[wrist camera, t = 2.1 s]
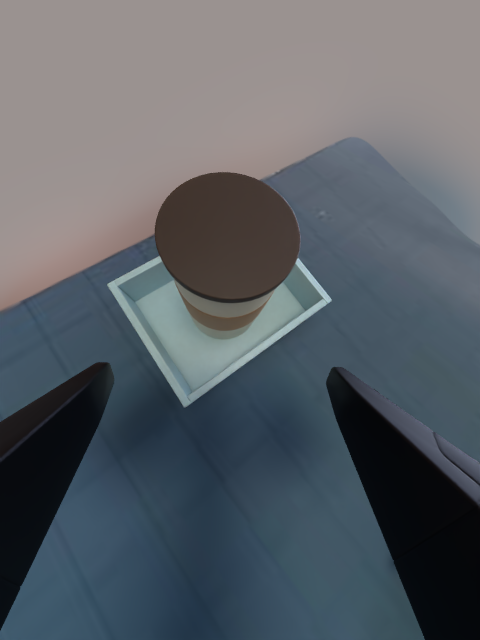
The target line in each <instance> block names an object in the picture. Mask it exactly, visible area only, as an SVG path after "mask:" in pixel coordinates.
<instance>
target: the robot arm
mask: <svg viewBox="0 0 480 640" xmlns="http://www.w3.org/2000/svg"><path fill="white" fill-rule="evenodd" d="M113 384H114V376H113V372H112V369H111V366H110V364H109V363H107V362H98V363H95V364H93V365H92V366H90V367H89V368H87V369H85V370H84V371H82V372H80V373H79V374H77V375H76V376H74V377H72V378H71V379H69V380H68V381H66V382H64V383H63V384H61V385H59V386H58V387H56V388H55V389H53V390H51V391H50V392H48V393H47V394H45V395H43V396H42V397H40V398H38V399H37V400H35V401H34V402H32V403H30V404H29V405H27V406H26V407H24V408H22V409H21V410H19V411H17V412H16V413H14V414H13V415H11V416H9V417H8V418H6V419H5V420H3V421H1V422H0V630H1V628H2V626H3V624H4V622H5V620H6V618H7V615H8V613H9V611H10V609H11V607H12V605H13V603H14V601H15V599H16V597H17V595H18V592H19V590H20V586H21V585H22V584H23V582H24V579H25V577H26V575H27V573H28V571H29V569H30V567H31V565H32V563H33V561H34V559H35V557H36V554H37V552H38V550H39V548H40V546H41V544H42V542H43V540H44V538H45V536H46V534H47V532H48V529H49V527H50V525H51V523H52V521H53V519H54V517H55V515H56V513H57V511H58V509H59V506H60V504H61V502H62V500H63V498H64V496H65V494H66V492H67V490H68V488H69V486H70V484H71V481H72V479H73V477H74V475H75V473H76V471H77V469H78V467H79V465H80V463H81V461H82V459H83V456H84V454H85V452H86V450H87V448H88V446H89V444H90V442H91V440H92V438H93V436H94V433H95V431H96V429H97V427H98V425H99V423H100V420H101V418H102V415H103V412H104V410H105V407H106V404H107V401H108V398H109V395H110V393H111V390H112V387H113ZM326 386H327V389H328V393H329V396H330V400H331V403H332V407H333V410H334V414H335V417H336V420H337V423H338V425H339V428H340V430H341V433H342V435H343V438H344V440H345V443H346V445H347V448H348V450H349V453H350V455H351V457H352V460H353V462H354V465H355V467H356V470H357V472H358V475H359V477H360V480H361V482H362V485H363V487H364V490H365V492H366V495H367V497H368V499H369V502H370V504H371V507H372V509H373V512H374V514H375V517H376V519H377V522H378V524H379V527H380V529H381V532H382V534H383V537H384V539H385V542H386V544H387V546H388V549H389V551H390V554H391V556H392V559H393V560H394V564H395V567H396V569H397V572H398V574H399V577H400V579H401V582H402V584H403V586H404V589H405V591H406V594H407V596H408V599H409V601H410V604H411V606H412V609H413V611H414V614H415V616H416V619H417V621H418V624H419V626H420V628H421V631H422V633H423V636H424V638H425V640H480V463H479V462H478V461H476V460H475V459H473V458H472V457H470V456H469V455H467V454H465V453H464V452H463V451H461V450H460V449H458V448H457V447H455V446H454V445H452V444H451V443H449V442H448V441H446V440H445V439H444V438H442V437H441V436H439V435H438V434H437V433H435V432H432V430H431V429H429V428H428V427H427V426H425V425H424V424H422V423H421V422H420V421H418V420H417V419H415V418H414V417H412V416H411V415H410V414H408V413H407V412H405V411H404V410H402V409H401V408H400V407H398V406H397V405H395V404H394V403H393V402H391V401H390V400H388V399H387V398H385V397H384V396H383V395H381V394H380V393H378V392H377V391H376V390H374V389H373V388H371V387H370V386H368V385H367V384H366V383H364V382H363V381H361V380H360V379H359V378H357V377H356V376H354V375H353V374H351V373H350V372H349V371H347V370H346V369H344V368H342V367H333V368H332V369H331V371H330V373H329V376H328V378H327V381H326Z"/></svg>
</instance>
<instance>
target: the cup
mask: <svg viewBox="0 0 480 640" xmlns="http://www.w3.org/2000/svg"><path fill="white" fill-rule="evenodd" d="M155 241H156V246H157V250H158V253H159V255H160V257H161V260H162V262H163V264H164V265H165V267H166V269H167V270H168V272H169V273H170V275H171V276H172V277H173V278H174V281H175V284H176V287H177V289H178V291H179V293H180V295H181V298H182V300H183V302H184V304H185V306H186V308H187V310H188V312H189V313H190V316H191V318H192V320H193V322H194V324H195V325H196V327H197V328H198V329H199V330H200V331H201V332H203V333H204V334H206V335H207V336H210V337H212V338H215V339H231V338H235V337H237V336H239V335H241V334H243V333H244V332H245V331H246V330H247V329H248V328H249V327H250V326H251V324H252V323H253V321H254V320H255V318H256V317H257V316H258V315H259V314H260V312H261V311H262V309H263V308H264V306H265V305H266V303H267V302H268V300H269V299H270V297H271V296H272V294H273V293H274V290H275V289H276V288H277V287H278V286H279V285H280V284H281V283H282V282H283V281H284V280H285V279H286V278H287V276H288V275H289V273H290V272H291V270H292V269H293V267H294V265H295V263H296V261H297V258H298V255H299V251H300V242H301V241H300V230H299V225H298V222H297V219H296V216H295V214H294V212H293V210H292V209H291V207H290V206H289V204H288V203H287V202H286V200H285V199H284V198H283V197H282V196H281V195H280V194H279V193H278V192H277V191H275V190H274V189H273V188H271V187H270V186H269V185H267V184H265V183H263V182H262V181H259V180H257V179H255V178H252V177H249V176H246V175H242V174H237V173H228V172H218V173H209V174H205V175H201V176H198V177H195V178H193V179H190V180H188V181H186V182H185V183H183V184H181V185H180V186H179V187H177V188H176V189H175V190H174V191H173V192H172V193H171V194H170V195H169V196H168V197H167V198H166V200H165V201H164V203H163V204H162V206H161V208H160V211H159V213H158V216H157V219H156V225H155Z"/></svg>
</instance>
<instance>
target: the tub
mask: <svg viewBox="0 0 480 640" xmlns="http://www.w3.org/2000/svg"><path fill="white" fill-rule="evenodd" d="M107 285H108V287H109V288H110V290H111V292H112V293H113V295H114V296H115V298H116V300H117V301H118V303H119V304H120V306H121V308H122V309H123V311H124V312H125V314H126V316H127V317H128V319H129V320H130V322H131V324H132V325H133V327H134V328H135V330H136V332H137V333H138V335H139V336H140V338H141V340H142V341H143V343H144V344H145V346H146V347H147V349H148V351H149V352H150V354H151V355H152V357H153V359H154V360H155V362H156V363H157V365H158V367H159V368H160V370H161V371H162V373H163V375H164V376H165V378H166V379H167V381H168V383H169V384H170V386H171V387H172V389H173V391H174V392H175V394H176V395H177V397H178V399H179V400H180V402H181V403H182V405H183V407H184V408H185V407H187V406H188V405H190V404H191V403H192V402H194V401H195V400H196V399H198V398H199V397H201V396H202V395H203V394H205V393H206V392H207V391H209V390H210V389H212V388H213V387H214V386H216V385H217V384H218V383H220V382H221V381H222V380H224V379H225V378H227V377H228V376H229V375H231V374H232V373H233V372H235V371H236V370H238V369H239V368H240V367H242V366H243V365H244V364H246V363H247V362H248V361H250V360H251V359H253V358H254V357H255V356H257V355H258V354H259V353H261V352H262V351H264V350H265V349H266V348H268V347H269V346H270V345H272V344H273V343H275V342H276V341H277V340H279V339H280V338H281V337H283V336H284V335H285V334H287V333H288V332H290V331H291V330H292V329H294V328H295V327H296V326H298V325H299V324H301V323H302V322H303V321H305V320H306V319H307V318H309V317H310V316H312V315H313V314H314V313H316V312H317V311H318V310H320V309H321V308H322V307H324V306H325V305H327V304H328V303H329V302H331V301H332V300H331V298H330V297H329V296H328V295H327V293H326V292H325V291H324V290H323V288H322V287H321V286H320V285H319V283H318V282H317V281H316V280H315V279H314V277H313V276H312V275H311V274H310V272H309V271H308V270H307V269H306V267H305V266H304V265H303V264H302V262H301V261H300V260H299V259H298V258H297V261H296V263H295V265H294V267H293V269H292V270H291V272H290V273H289V275H288V276H287V278H286V279H285V280H284V281H283V282H282V283H281V284H280V285H279V286H278V287H277V288H276V289H275V290H274V293H273V294H272V296H271V297H270V299H269V300H268V302H267V303H266V305H265V306H264V308H263V309H262V311H261V312H260V314H259V315H258V316H257V317H256V318H255V320H254V321H253V323H252V324H251V326H250V327H249V328H248V329H247V330H246V331H245V332H244V333H243V334H241V335H239V336H237V337H235V338H231V339H215V338H212V337H210V336H207V335H206V334H204V333H203V332H201V331H200V330H199V329H198V328H197V327H196V325H195V324H194V322H193V320H192V318H191V316H190V313H189V312H188V310H187V308H186V306H185V304H184V302H183V300H182V298H181V295H180V293H179V291H178V289H177V287H176V284H175V281H174V278H173V277H172V276H171V275H170V273H169V272H168V270H167V269H166V267H165V265H164V264H163V262H162V260H161V257H160V256H159V257H157V258H155V259H153V260H151V261H149V262H148V263H146V264H144V265H142V266H140V267H138V268H136V269H134V270H133V271H131V272H129V273H127V274H125V275H123V276H121V277H119V278H118V279H116V280H114V281H112V282H110V283H108V284H107Z"/></svg>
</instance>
